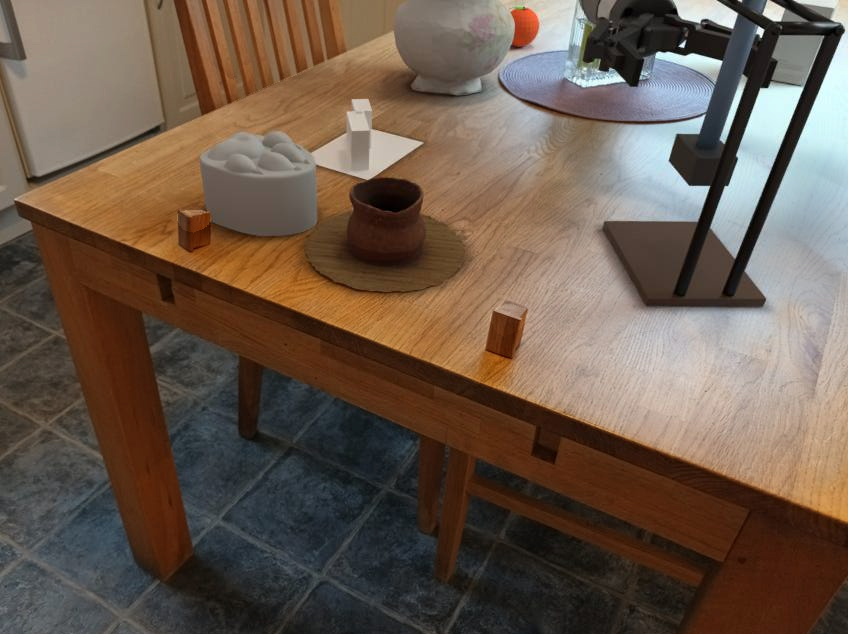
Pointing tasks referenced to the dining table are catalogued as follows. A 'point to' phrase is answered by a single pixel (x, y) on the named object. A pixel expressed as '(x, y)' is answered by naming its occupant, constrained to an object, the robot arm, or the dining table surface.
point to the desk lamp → (695, 241)
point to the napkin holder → (363, 146)
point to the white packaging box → (799, 45)
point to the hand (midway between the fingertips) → (703, 74)
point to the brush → (716, 109)
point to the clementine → (524, 26)
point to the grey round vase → (452, 42)
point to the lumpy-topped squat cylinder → (260, 184)
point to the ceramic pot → (386, 241)
